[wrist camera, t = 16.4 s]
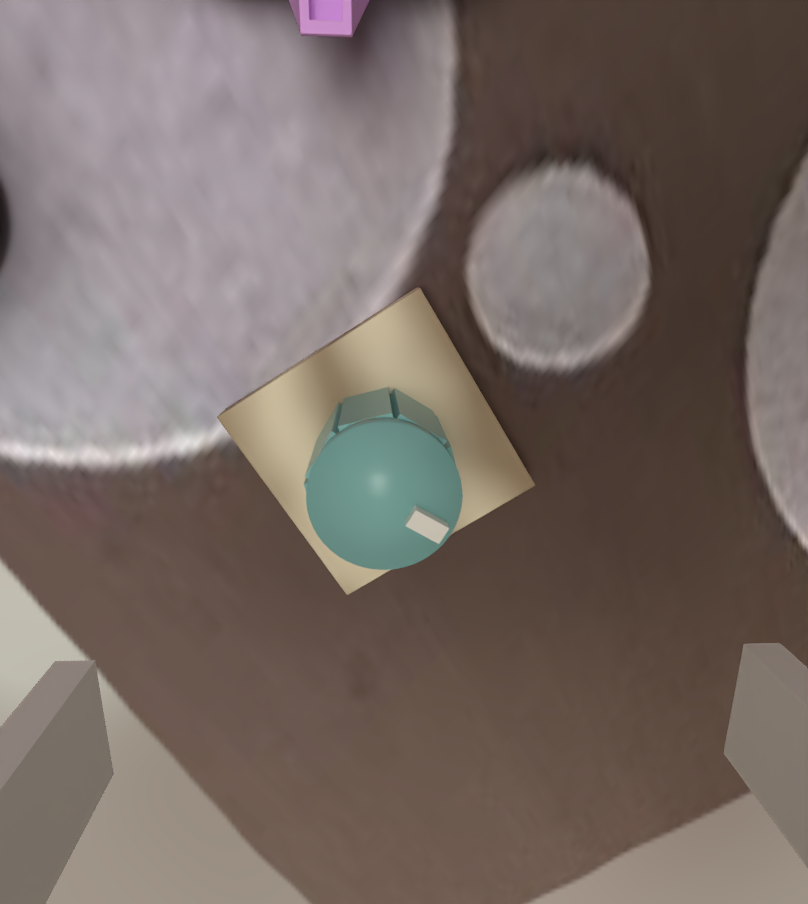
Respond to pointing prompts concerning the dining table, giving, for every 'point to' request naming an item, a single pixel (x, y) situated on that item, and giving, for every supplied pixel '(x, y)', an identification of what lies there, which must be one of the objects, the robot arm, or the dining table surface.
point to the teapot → (328, 16)
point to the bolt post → (363, 370)
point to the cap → (383, 481)
